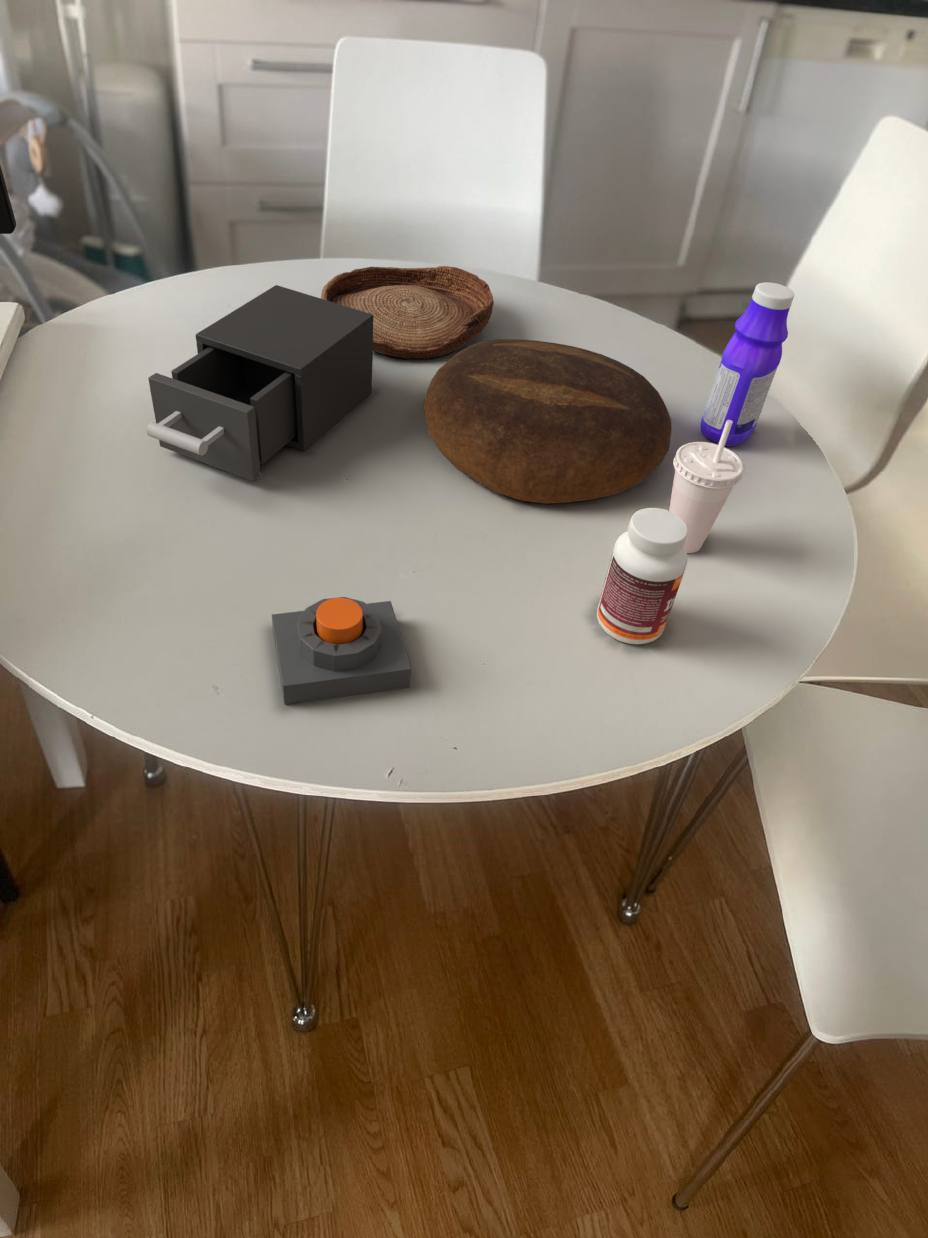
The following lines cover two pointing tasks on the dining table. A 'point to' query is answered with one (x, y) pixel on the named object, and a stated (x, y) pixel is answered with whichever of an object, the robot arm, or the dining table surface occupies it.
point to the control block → (339, 655)
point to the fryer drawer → (224, 411)
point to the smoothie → (703, 485)
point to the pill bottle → (643, 577)
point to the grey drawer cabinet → (303, 352)
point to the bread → (546, 420)
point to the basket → (416, 307)
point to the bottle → (748, 365)
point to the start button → (339, 621)
